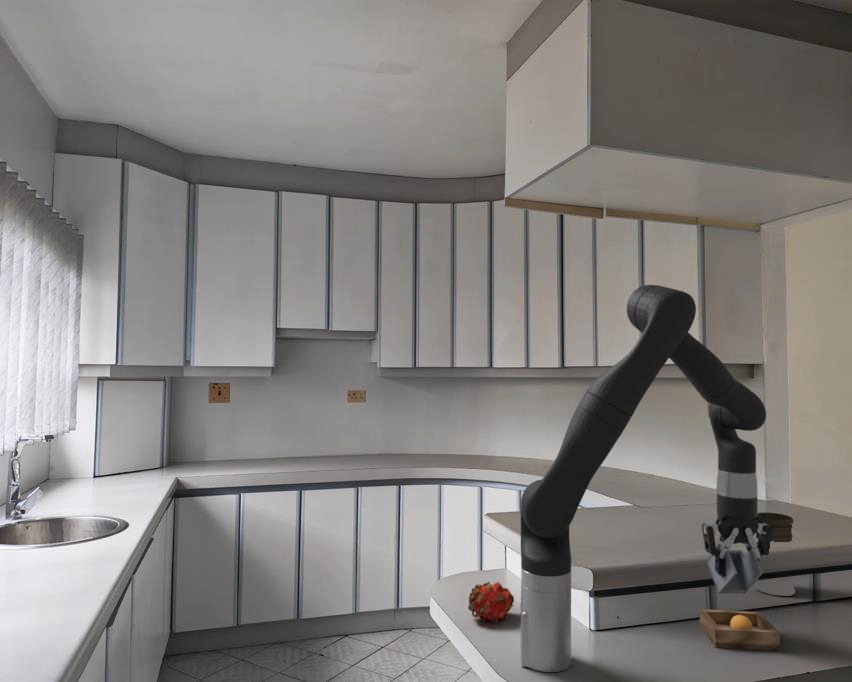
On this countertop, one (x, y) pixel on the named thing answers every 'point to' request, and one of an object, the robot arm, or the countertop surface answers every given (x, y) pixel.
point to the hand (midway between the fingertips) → (736, 575)
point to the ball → (740, 622)
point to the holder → (736, 572)
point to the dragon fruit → (490, 601)
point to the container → (777, 526)
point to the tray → (739, 630)
